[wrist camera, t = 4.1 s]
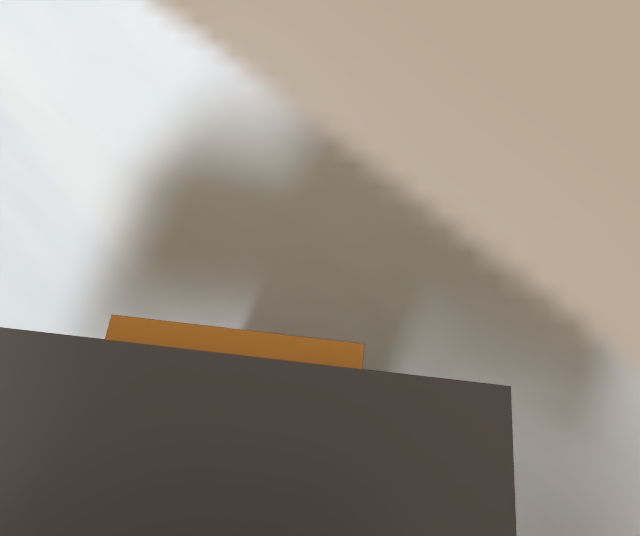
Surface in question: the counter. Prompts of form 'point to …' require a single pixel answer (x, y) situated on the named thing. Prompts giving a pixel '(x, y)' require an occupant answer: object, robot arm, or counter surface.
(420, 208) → the counter surface
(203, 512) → the grey square pillar
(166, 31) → the counter surface
